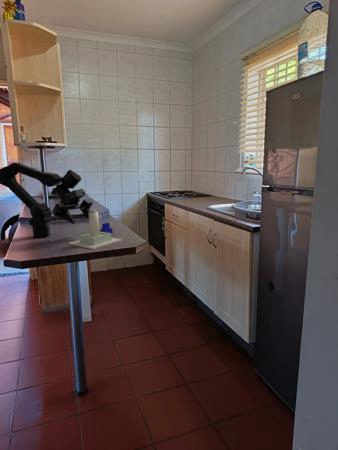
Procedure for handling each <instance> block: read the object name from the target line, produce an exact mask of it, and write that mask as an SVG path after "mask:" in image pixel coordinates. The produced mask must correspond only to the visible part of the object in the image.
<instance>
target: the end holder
mask: <svg viewBox="0 0 338 450" xmlns="http://www.w3.org/2000/svg"><path fill="white" fill-rule="evenodd" d="M89 235H90V232H87V233H84V234H78V238H79V239H78V240H75V241H71V242H68V245H70V246H74V247H81V248H86V249H90V250H97V249H99V248H103V247H106V246H110V245H113V244H116V243H121V242H122V241H123V239H122V238H116V237H112V235H111V233H105V232H100V235H101V236H97V237H89Z"/></svg>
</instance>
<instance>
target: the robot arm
mask: <svg viewBox="0 0 338 450" xmlns="http://www.w3.org/2000/svg"><path fill="white" fill-rule="evenodd" d="M19 174H21V175H25V176H27V177H29V178H32V179H34V180H37V181H39V183H40V184H42V185H44V186H46V188H50V187H51V188H52V187H54V188H52V190H51V195H54V196H57V197H58V198H59V200H60V201H59V202H58V203H55V205H54V207H53V209H52V210H51V207H49V206H48V205H47V204H46V203H45V202H42V203H40V202H38V201H37V200H36V199H35V198H34V197H33V195H31V194H30V193H29V192H28V191H27V190H26V189H25V188H24V187H23V185H21V184H20V183H19V182H18V180H17V178H16V177H17V175H19ZM81 181H82V176H80V174H78V173H77V172H75V171H73V170H72V169H68V170H67V172H66V173H65V174H64V175H63V176H60V174H58V173H54V172H49V171H48V172H46V171H41V170H39V169H36V168H33V167H31V166H28V165H26V164H23V163H21V162H12V163H10V164H9V165H6V166H4V167H1V168H0V185H2V186H4V187H6V188H8V189H9V190H10V191H11V192H12V194H14V196H16V197H17V199H19V200H20V201H21V202H22V203H23V204H24V205H25V206H26V207H27V208H28V209H29V212H30V215H31V218H30V219H29V220H28V224H29V226H31V228H32V235H33V236H31V239H39V238H40V239H43V238H44V239H46V238H47V237H49V236H50V235H51V233H50V232H51V231H50V226H49V223H50V220H51V218H52V215H53V216H54V217H57V218H61V219H64V220H65V221H67V222H69V223H71V224H73V225H74V224H75V223H76V222H75V220H74V218H73V216H72V215H71V213H70V212H69V210H70V211H72V210H80V211H81V213H82V214H83V215H84V216H85V217H86V218H87V219H88V220H89V213H90V210H91V207H92V205H93V204H94V202H93V201H92V199H83V200H82V202H80V201H81V198H83V197H84V196H86V191H85V190H84V189H83V188H79V189H75V187H76V186H78V184H79V183H80V182H81ZM71 189H73V190H71Z"/></svg>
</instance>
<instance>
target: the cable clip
mask: <svg viewBox="0 0 338 450" xmlns="http://www.w3.org/2000/svg"><path fill="white" fill-rule="evenodd" d="M88 224H89V223H88ZM101 226H102V227H101V229H100V232H105V233H111V236H112V235H114V234H113V233H114V231H113V228H111V227H110V226H111V225H110V222H104V223H102V225H101ZM89 227H90V224H89Z"/></svg>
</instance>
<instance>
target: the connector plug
mask: <svg viewBox="0 0 338 450" xmlns="http://www.w3.org/2000/svg"><path fill="white" fill-rule="evenodd" d="M99 220H100V217H99V212H98V211H97V210H96V209H90V213H89V219H88V224H90V226H89V233H90V235H89V237H97V236H101V235H100V230H101V229H100V221H99Z"/></svg>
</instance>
